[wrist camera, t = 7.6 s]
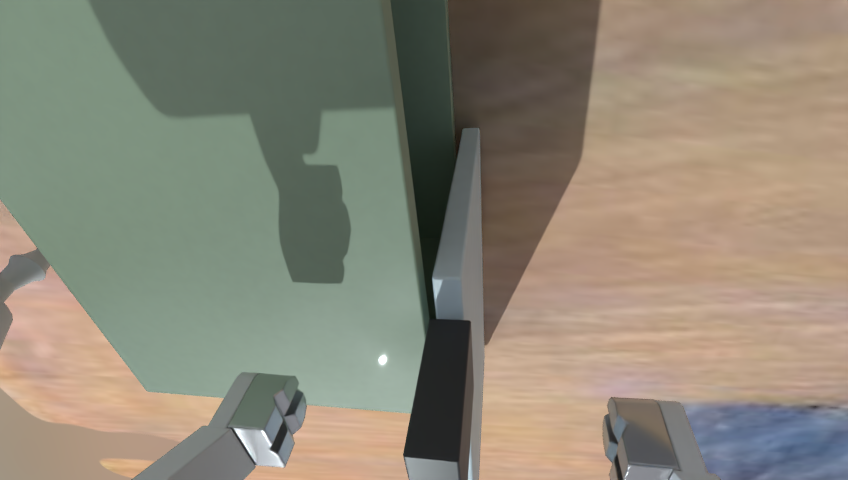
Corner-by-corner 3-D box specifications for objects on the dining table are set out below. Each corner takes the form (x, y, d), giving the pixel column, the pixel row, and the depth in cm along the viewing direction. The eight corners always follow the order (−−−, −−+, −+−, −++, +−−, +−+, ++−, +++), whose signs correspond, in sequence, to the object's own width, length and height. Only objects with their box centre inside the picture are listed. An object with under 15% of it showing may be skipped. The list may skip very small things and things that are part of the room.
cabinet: (440, -134, 15) (352, -218, 6) (461, 241, 24) (436, 416, 15) (139, -91, 17) (-237, -108, 8) (264, 238, 26) (146, 392, 18)
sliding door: (484, 126, 20) (455, 420, 8) (487, 356, 29) (476, 648, 17) (457, 127, 20) (392, 414, 8) (469, 355, 29) (446, 643, 17)
